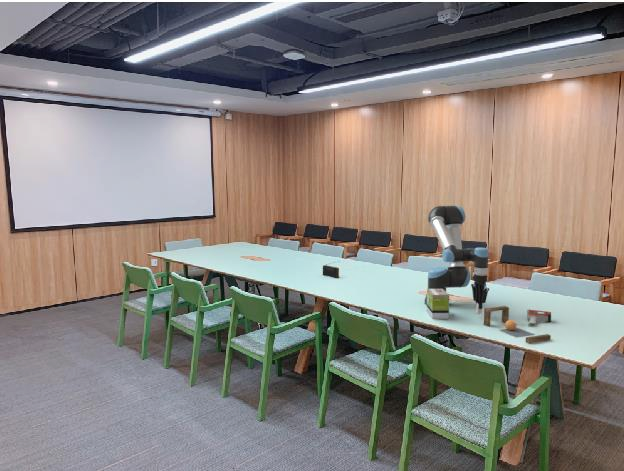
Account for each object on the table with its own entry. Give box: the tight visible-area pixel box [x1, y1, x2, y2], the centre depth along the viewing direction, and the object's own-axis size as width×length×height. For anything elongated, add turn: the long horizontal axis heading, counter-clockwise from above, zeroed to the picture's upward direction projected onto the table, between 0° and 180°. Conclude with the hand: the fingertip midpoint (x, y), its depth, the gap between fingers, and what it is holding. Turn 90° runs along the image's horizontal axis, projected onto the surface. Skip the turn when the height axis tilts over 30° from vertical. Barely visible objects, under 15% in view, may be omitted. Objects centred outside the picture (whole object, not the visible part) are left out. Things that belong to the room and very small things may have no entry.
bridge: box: [483, 305, 510, 327], centre depth 248 cm, size 3×14×9 cm, turn 110°
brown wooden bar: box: [525, 333, 552, 344], centre depth 221 cm, size 2×14×2 cm, turn 110°
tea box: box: [426, 288, 450, 320], centre depth 264 cm, size 15×10×15 cm, turn 178°
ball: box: [504, 319, 517, 331], centre depth 237 cm, size 6×6×6 cm
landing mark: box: [499, 326, 535, 338], centre depth 234 cm, size 12×12×1 cm
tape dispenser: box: [526, 309, 552, 328], centre depth 253 cm, size 18×5×20 cm
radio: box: [322, 261, 340, 279], centre depth 373 cm, size 19×3×15 cm, turn 43°
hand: (478, 313), depth 261 cm, fingers closed
